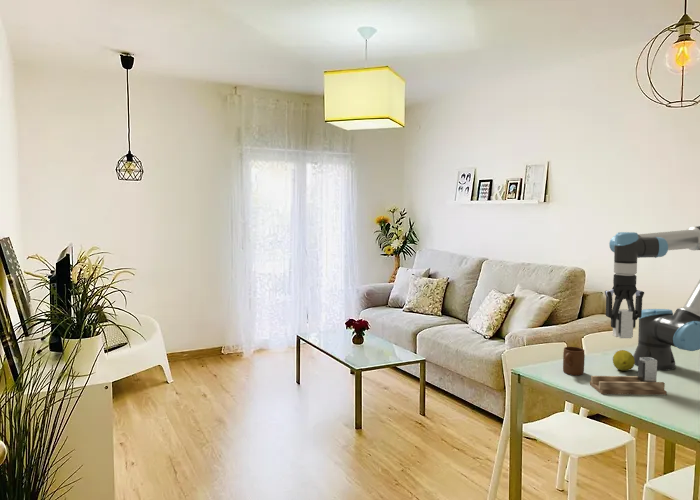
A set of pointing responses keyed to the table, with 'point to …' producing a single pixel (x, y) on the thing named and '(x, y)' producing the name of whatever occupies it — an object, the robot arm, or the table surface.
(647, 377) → the finger
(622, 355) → the lemon
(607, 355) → the table surface
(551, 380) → the table surface
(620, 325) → the block
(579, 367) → the mug
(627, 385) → the rail
